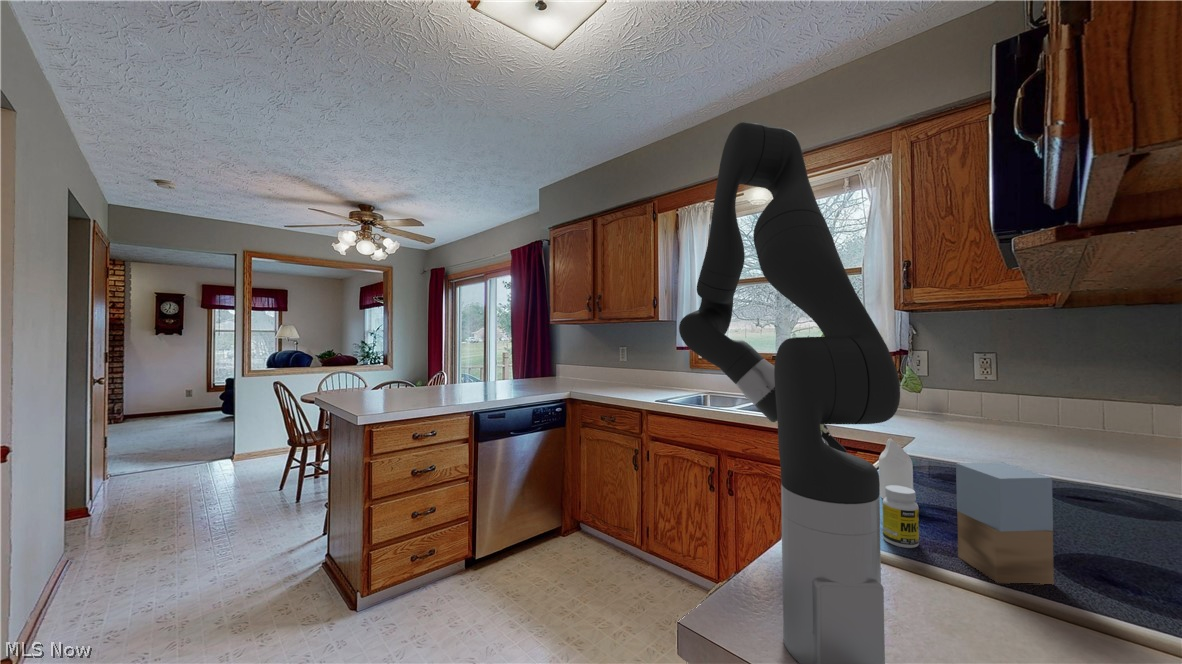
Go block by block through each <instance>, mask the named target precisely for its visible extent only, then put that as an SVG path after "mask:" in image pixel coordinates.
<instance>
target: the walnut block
mask: <svg viewBox="0 0 1182 664" xmlns="http://www.w3.org/2000/svg"><path fill="white" fill-rule="evenodd" d="M956 511H957V510H956ZM956 513H957V515H956V516H957V557H958V558H959V559H961V560H962V561H964V562H965V563H966V564H968V565H970V566H971V567H972V568H973V569H975V568H976V569H975V570H977V571H978V570H979V571H978V572H980V573H981V572H982V573H981V574H982V575H984V574H985V575H984V576H985V577H987V576H988V577H987V578H989V579H990V580H991V579H992V581H993V580H994V581H995V583H996V582H997V583H996V584H1010V583H1040V584H1039V585H1044V584H1052V585H1051V586H1053V585H1054V583H1055V582H1054V530H1053V531H1004V532H1000V531H998V530H996V529H994V528H992V527H990V526H988V525H986V524H984V523H982V522H980V521H978V520H975V519H973V518H971V517H969V516H967V515H965V514H963V513H961V512H959V511H957V512H956ZM994 581H993V582H994ZM998 582H999V583H998Z"/></svg>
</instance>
